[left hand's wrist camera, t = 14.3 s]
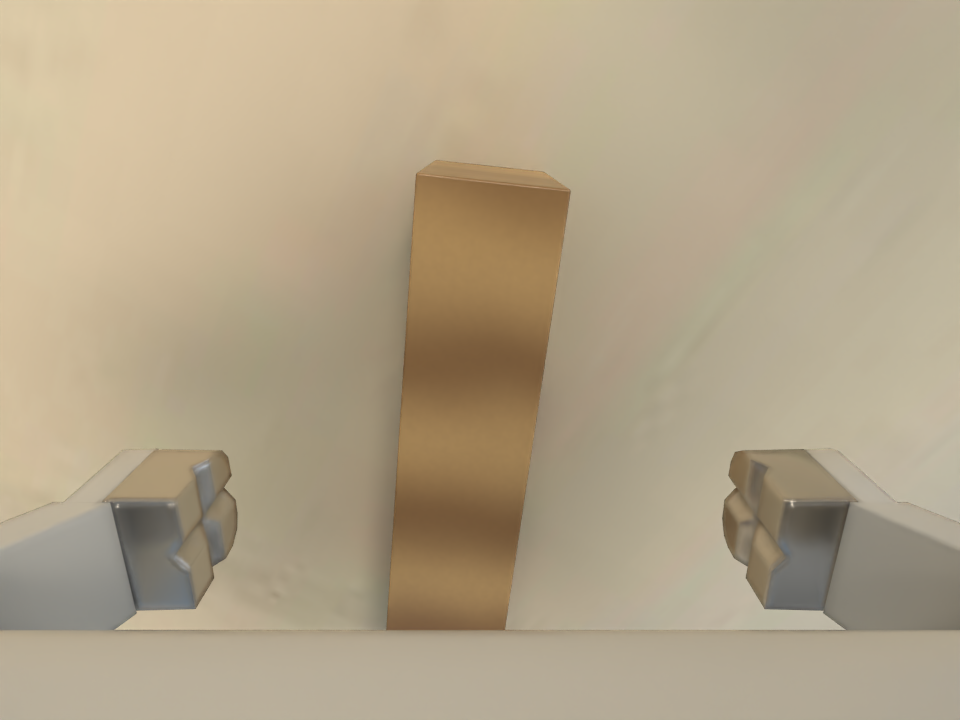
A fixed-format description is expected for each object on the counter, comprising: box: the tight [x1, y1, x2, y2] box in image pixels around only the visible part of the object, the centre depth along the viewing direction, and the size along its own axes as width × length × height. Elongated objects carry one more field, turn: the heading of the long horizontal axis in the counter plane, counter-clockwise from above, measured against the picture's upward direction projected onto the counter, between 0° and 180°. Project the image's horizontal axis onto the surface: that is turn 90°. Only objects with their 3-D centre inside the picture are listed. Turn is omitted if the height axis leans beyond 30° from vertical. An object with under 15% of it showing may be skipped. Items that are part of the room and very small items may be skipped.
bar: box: [386, 160, 571, 630], centre depth 30 cm, size 26×5×9 cm, turn 174°
